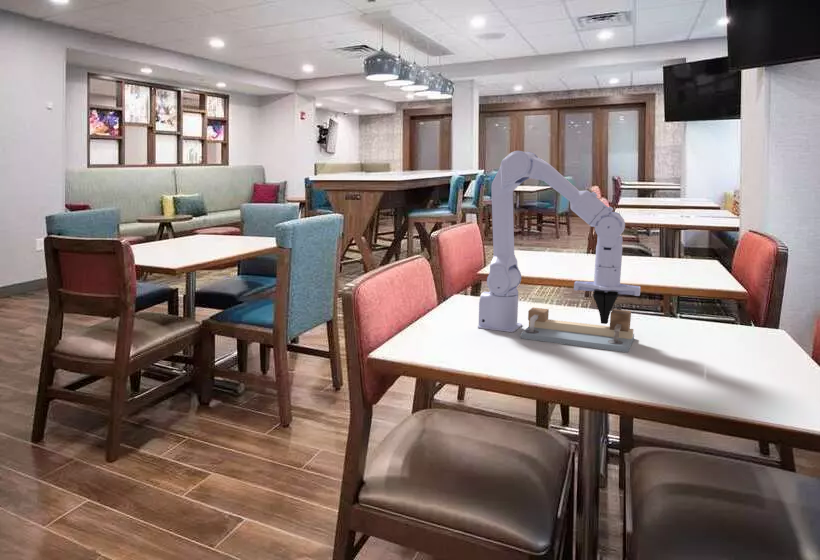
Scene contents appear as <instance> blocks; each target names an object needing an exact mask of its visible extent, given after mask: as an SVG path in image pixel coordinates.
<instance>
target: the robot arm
mask: <svg viewBox="0 0 820 560" xmlns="http://www.w3.org/2000/svg"><path fill="white" fill-rule="evenodd" d="M529 179H531V180H532V179H533V180H537V181H538V180H539V181H543V182H545V184H547V185H548V186H549V187H551V188H553V190H555V191H556V192H557V193H558V194H560V195H561V196H563V198H564V199H566V200H567V201H569V205H570V206H569V207H570V210H571V211H572V212H573V213H574V214H575V215H576V216H578V217H579V218H580V219H582V220H583V221H584V222H585V223H586V224H587V225H588V226H589V227H593V228H594V230H595V234H596V235H597V238H596V239H597V242H596V246H595V261H594V262H595V263H594V279H593V281H583V280H582V281H580V280H579V281H578V280H576V281H574V283H573V291H575V292H576V291H577V292H578V291H585V292H593V294H592V297H593V300H594V302H595V304H596V306H597V309H598V314H599V319H600V324H604V325H608V323H609V318H610V316H611V312H612V310H613V307H614V304H615V302H616V300H617V298H618V297H619V296H620V295H631V296H636V297H640V295H641V289H642V288H641V286H639V285H632V284H624V283H621V277H622V276H621V275H622V272H621V271H622V258H623V241H624V240H623V233H624V231H625V228H626V222H625V219H624V218H623V216H622V215H621V214H620V213H619V212H616V211H614V208H613V207H612V206H611V205H610V206H607V204H605V203H604V202H603V201H601V200H600V199H599V198H598V193H596V192H595V191H592V192H590V191H589V190H588V189H587V190H579V189H578V188H577V187H576V186H575V185H574V184H572V183H571V182H570V181H569V180H568V179H567V178H566V177H565V176H564V175H562V174H561V173H560V172H559V170H557V169H556V168H555V167H553V166H552V164H550V163H549V162H548V161H545V160H544V159H542V158H541V157H538V155H537V154H536V153H534V152H531V151H523V150H514V151H512V152H510V153H508V154H507V156H505V157H504V158H503V159H502V160H501V161H500V166H499V169H498V170H497V172H496V175H495V176H494V179H493V180H492V181H491V187H490V188H491V190H490V191H491V216H492V220H491V222H492V245H493V247H492V249H493V250H492V251H493V256H492V259H491V262H490V264H489V273H488V275H487V277H486V285H487V288H488V289H489V291H483V292H482V293H481V294H480V297H479V302H478V325H477V328H478V329H484V330H491V331H499V332H506V333H507V332H508V333H515V332H516V331H517V330H519V328H521V326H523V323H521V322H518V313H519V312H518V311H519V310H518V309H519V290H518V286H519V285H520V284H521V281H522V274H521V270H520V268H519V267H518V266H519V265H518V259H517V257H516V255H515V233H514V232H515V230H514V229H515V227H514V225H515V224H514V191H515V190H516V189H517V188H518V187H519V186H520V185H521V184H522V183H523V182H525V181H527V180H529Z"/></svg>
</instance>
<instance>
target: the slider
mask: <svg viewBox="0 0 820 560" xmlns="http://www.w3.org/2000/svg"><path fill="white" fill-rule="evenodd" d="M609 318H610V320H609V326H610V330H614V341H615V342H618V341H619V331H625V332H628V331H629V329H631V322H632V321H631V320H632V311H631V310H624V309H613V308H612V309H611V312H610V315H609Z"/></svg>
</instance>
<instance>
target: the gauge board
mask: <svg viewBox="0 0 820 560" xmlns="http://www.w3.org/2000/svg"><path fill="white" fill-rule="evenodd" d="M527 314H528V315H527V320H528V327H527V328H525V329H524V330H523V331H522V332H521V333H520V339H525V340H532V341H539V342H546V343H553V344H561V345H569V346H576V347H583V348H585V347H586V348H593V349H599V350H607V351H615V352H620V353H621V352H622V353H628V352H629V350H630V348H631V346H632V344H633V341H634V339H635V333H634V328H630V329H629V331H628V332H625V331H619V341H618V342H615V341H614V330H610V325H600V324H591V323H582V322H576V321H575V322H574V321H566V320H565V321H564V320H558V319H557V320H556V319H549V308H540V307H532V308H530V309H529V310H528V313H527Z"/></svg>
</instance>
